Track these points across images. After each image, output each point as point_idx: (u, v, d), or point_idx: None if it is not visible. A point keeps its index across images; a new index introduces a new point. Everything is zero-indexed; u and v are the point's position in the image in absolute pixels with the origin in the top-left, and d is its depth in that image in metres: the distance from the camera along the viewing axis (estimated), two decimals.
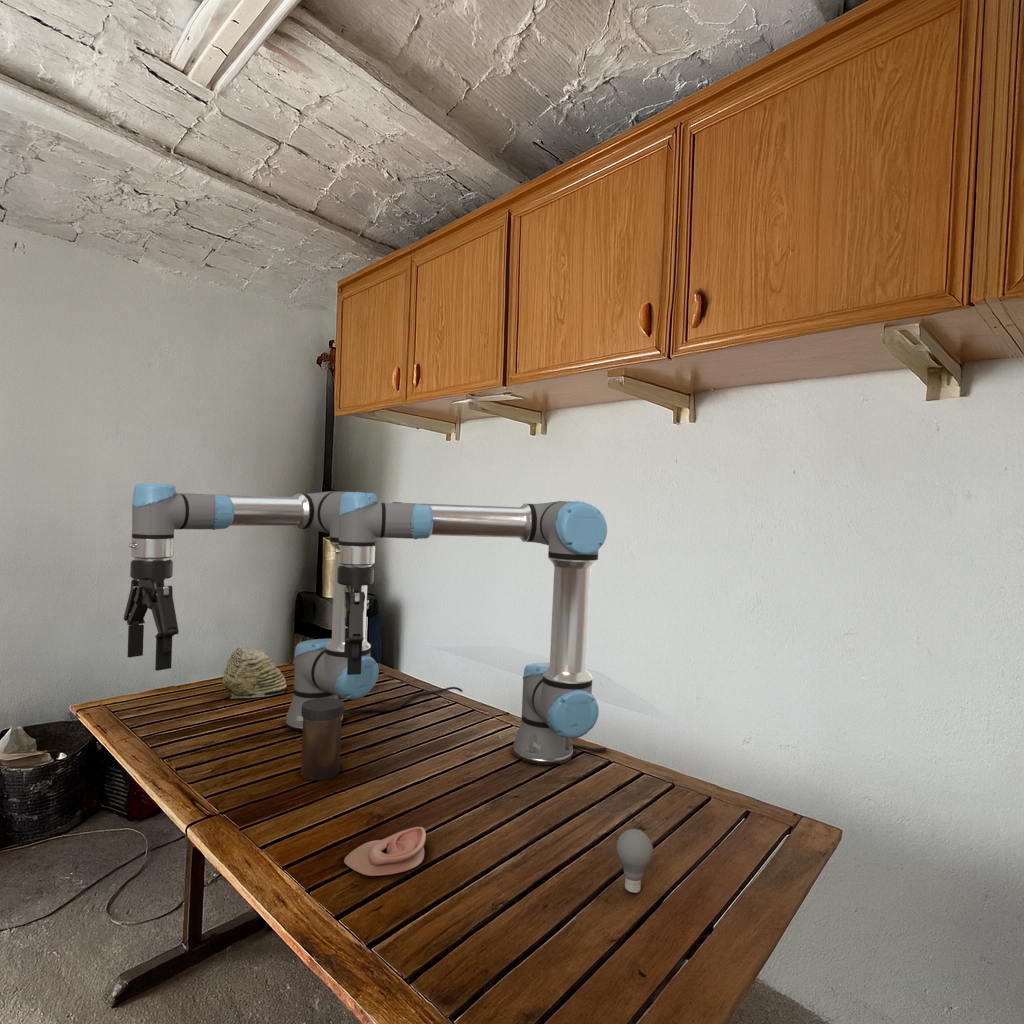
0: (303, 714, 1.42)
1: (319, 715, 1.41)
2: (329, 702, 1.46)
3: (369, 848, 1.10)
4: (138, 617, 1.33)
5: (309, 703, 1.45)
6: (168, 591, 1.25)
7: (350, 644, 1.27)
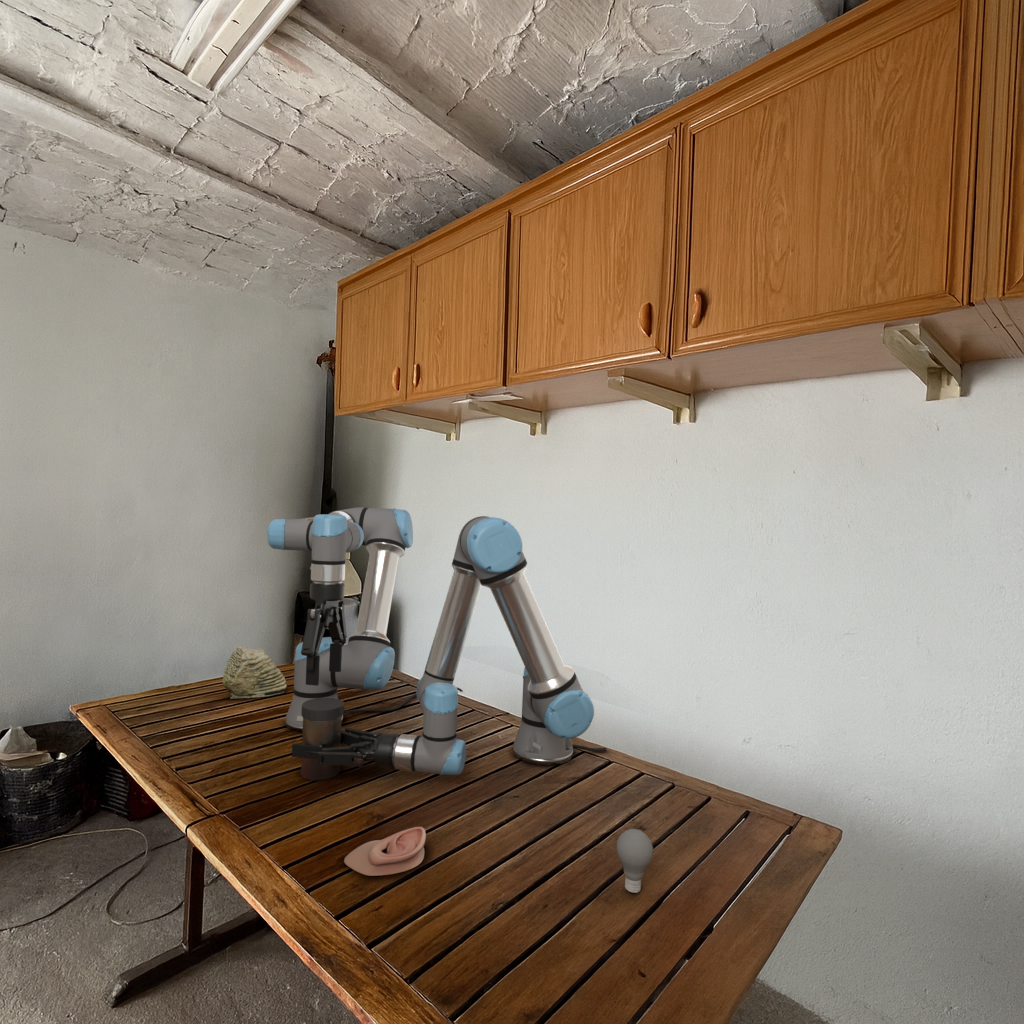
0: (303, 714, 1.42)
1: (319, 715, 1.41)
2: (329, 702, 1.46)
3: (369, 848, 1.10)
4: (335, 636, 1.50)
5: (309, 703, 1.45)
6: (314, 614, 1.38)
7: None
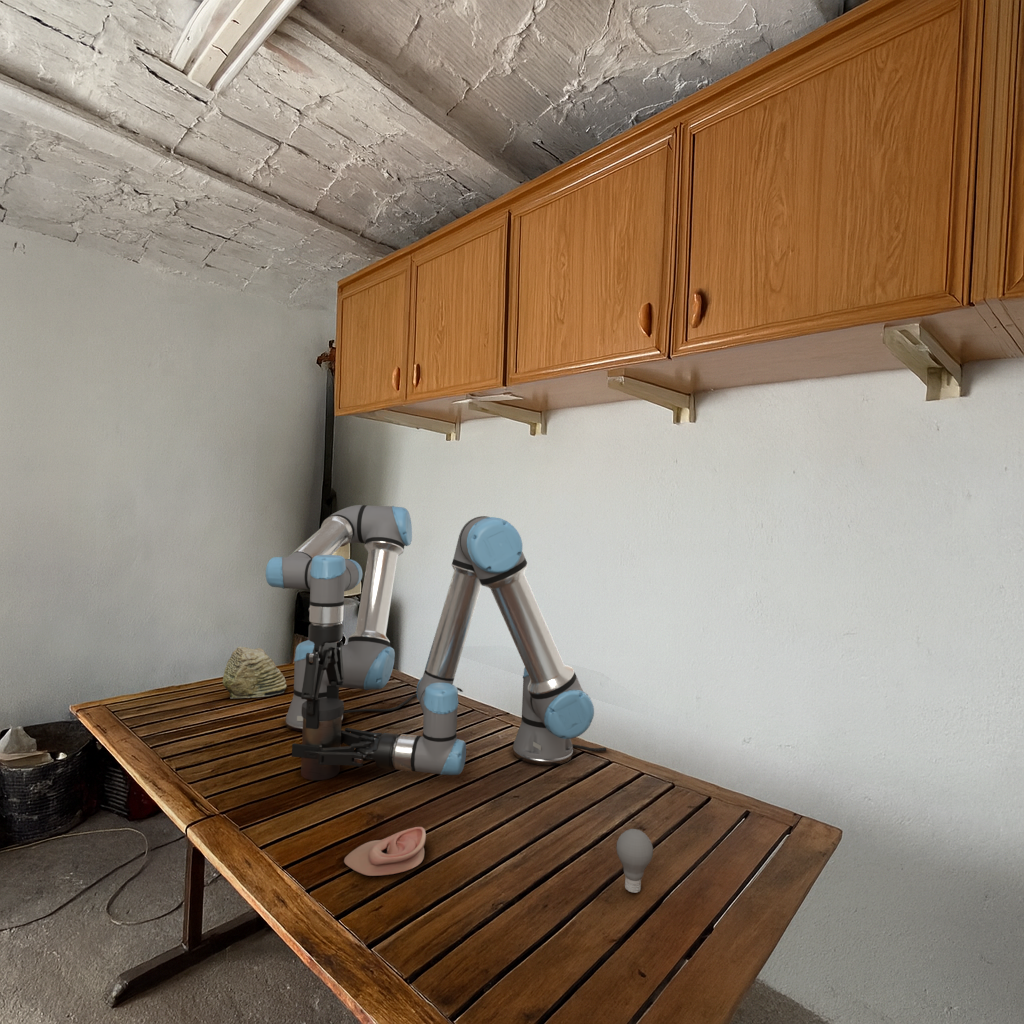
0: (303, 714, 1.42)
1: (319, 715, 1.41)
2: (329, 702, 1.46)
3: (369, 848, 1.10)
4: (332, 677, 1.49)
5: None
6: (312, 659, 1.38)
7: None
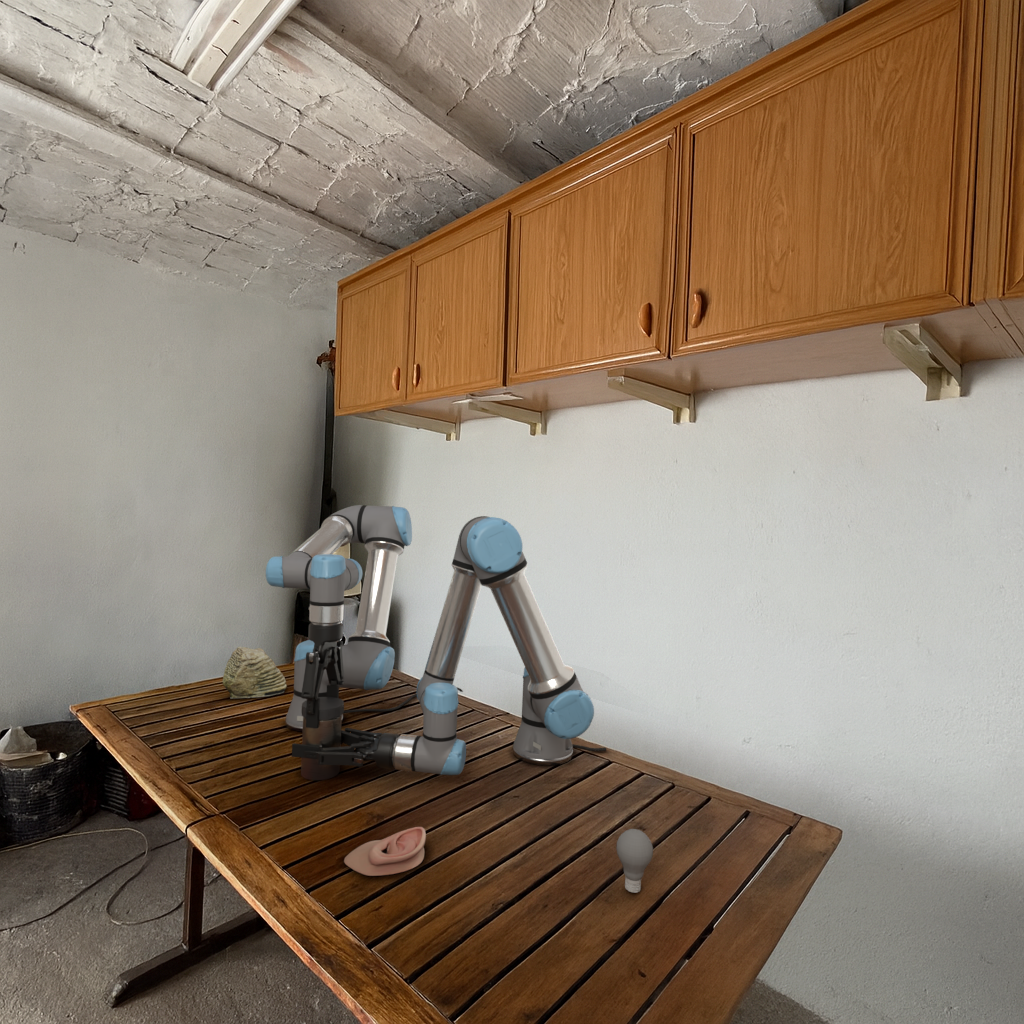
0: (319, 716, 1.41)
1: (337, 712, 1.43)
2: (324, 700, 1.47)
3: (369, 848, 1.10)
4: (332, 677, 1.49)
5: None
6: (312, 658, 1.38)
7: None
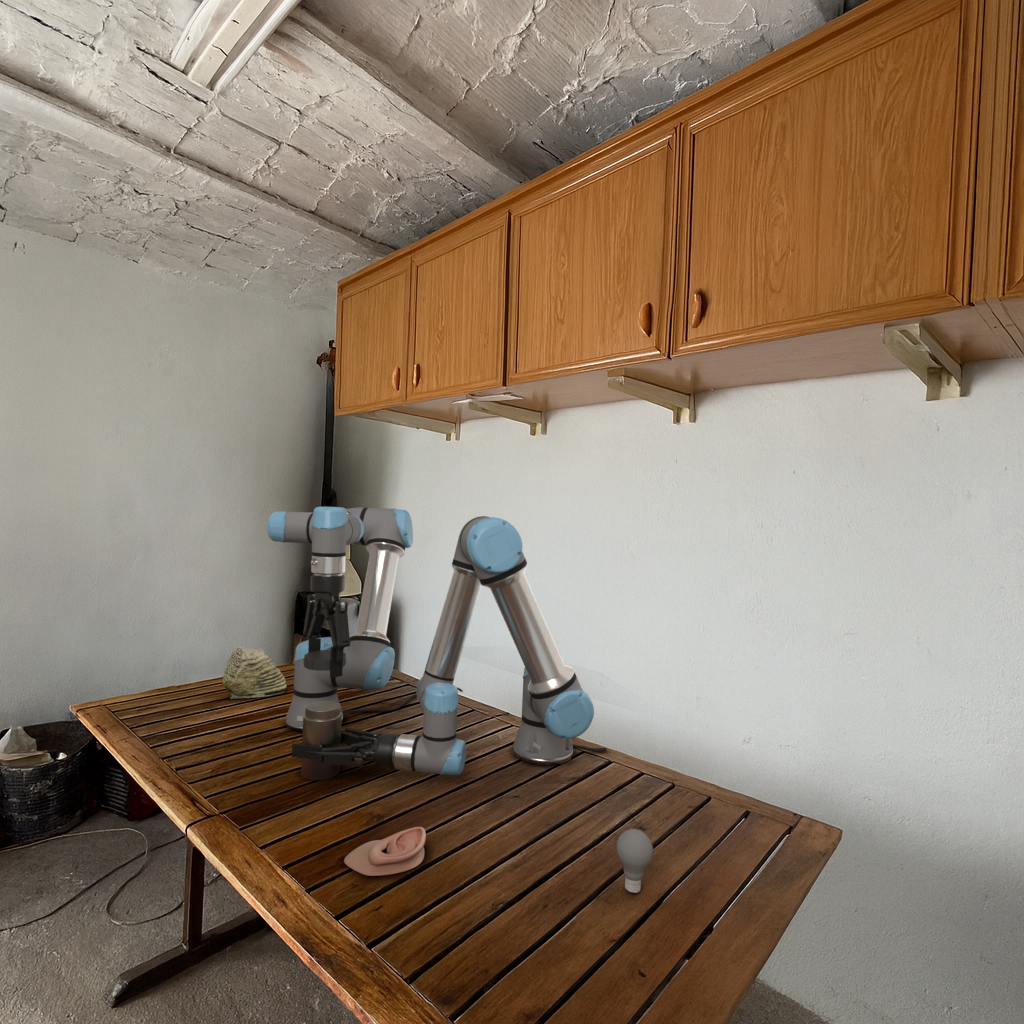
0: None
1: None
2: (319, 654, 1.46)
3: (369, 848, 1.10)
4: (316, 630, 1.48)
5: (327, 658, 1.42)
6: (344, 607, 1.41)
7: None
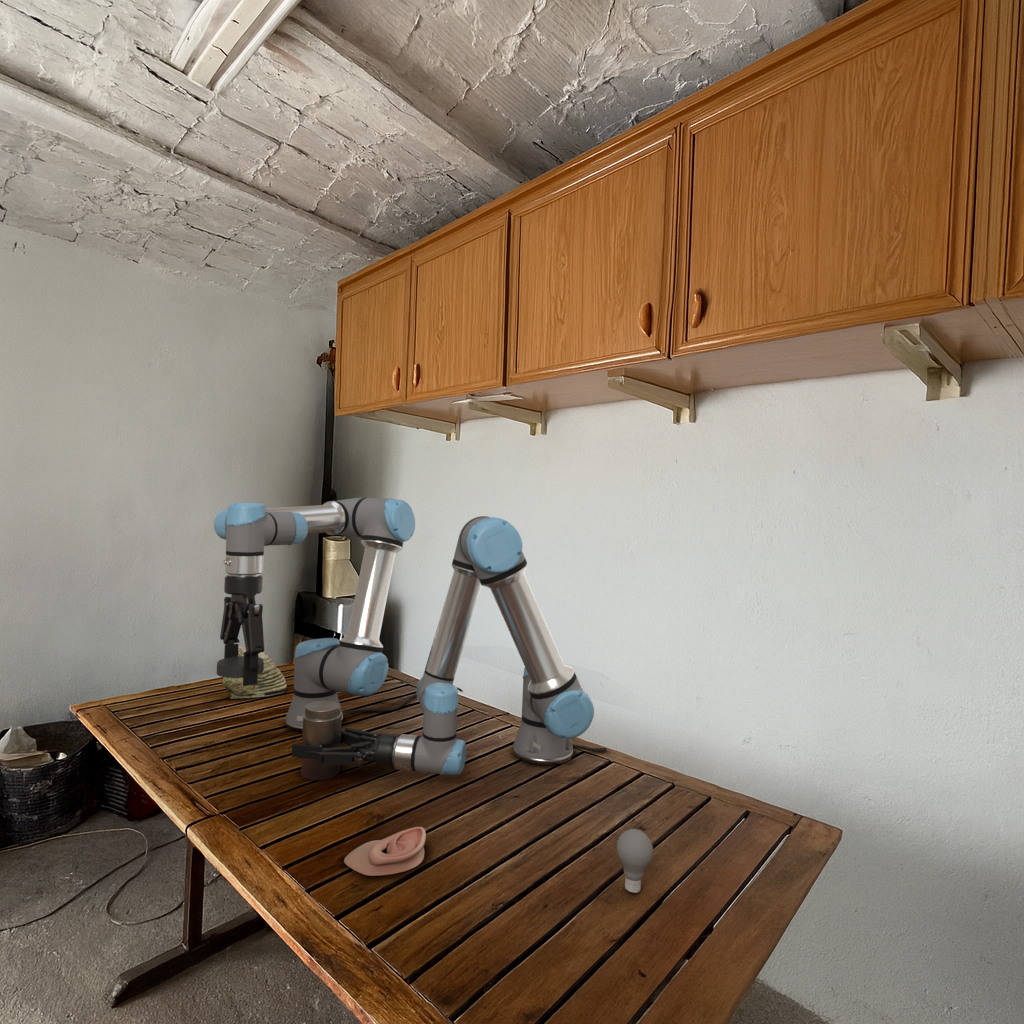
0: None
1: None
2: (235, 660, 1.36)
3: (369, 848, 1.10)
4: (233, 635, 1.39)
5: (241, 664, 1.33)
6: (259, 610, 1.31)
7: None
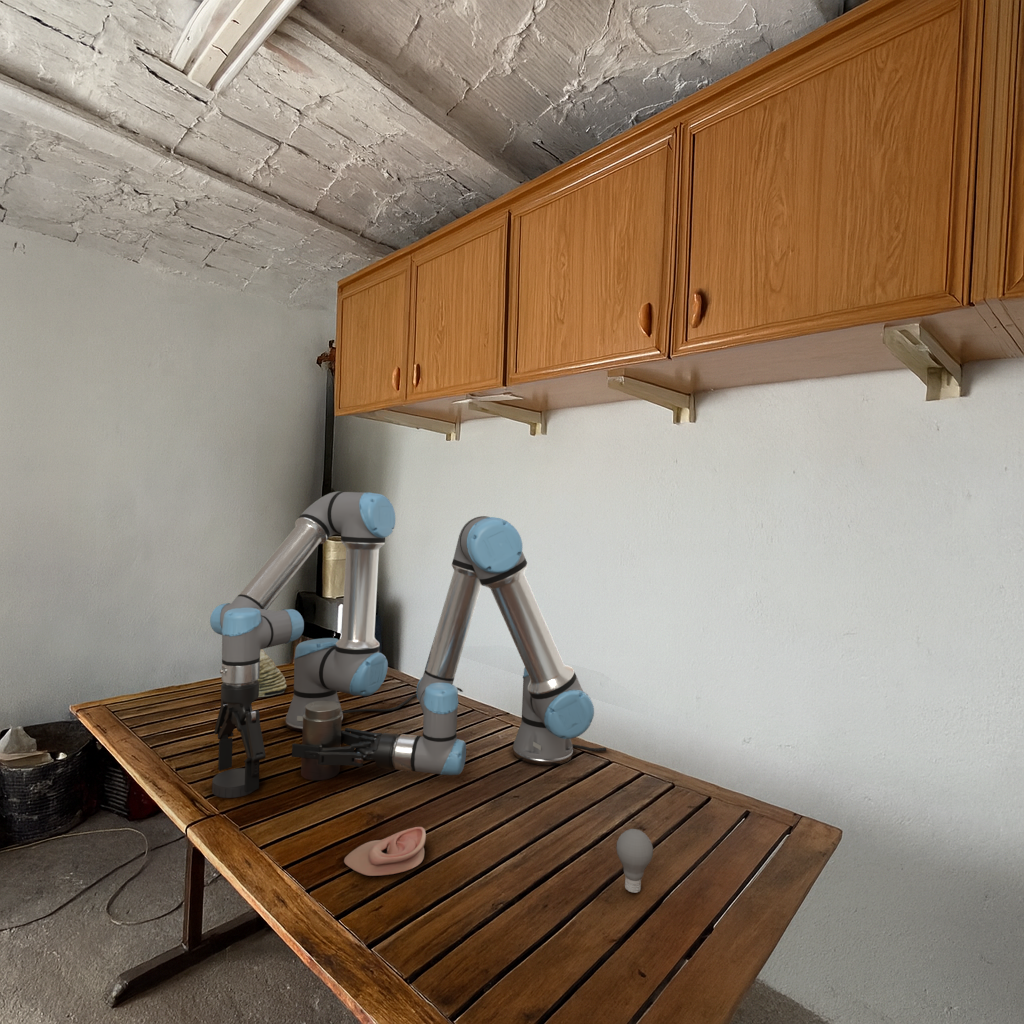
0: None
1: None
2: (230, 775, 1.37)
3: (369, 848, 1.10)
4: (227, 732, 1.40)
5: (236, 783, 1.33)
6: (255, 716, 1.32)
7: None
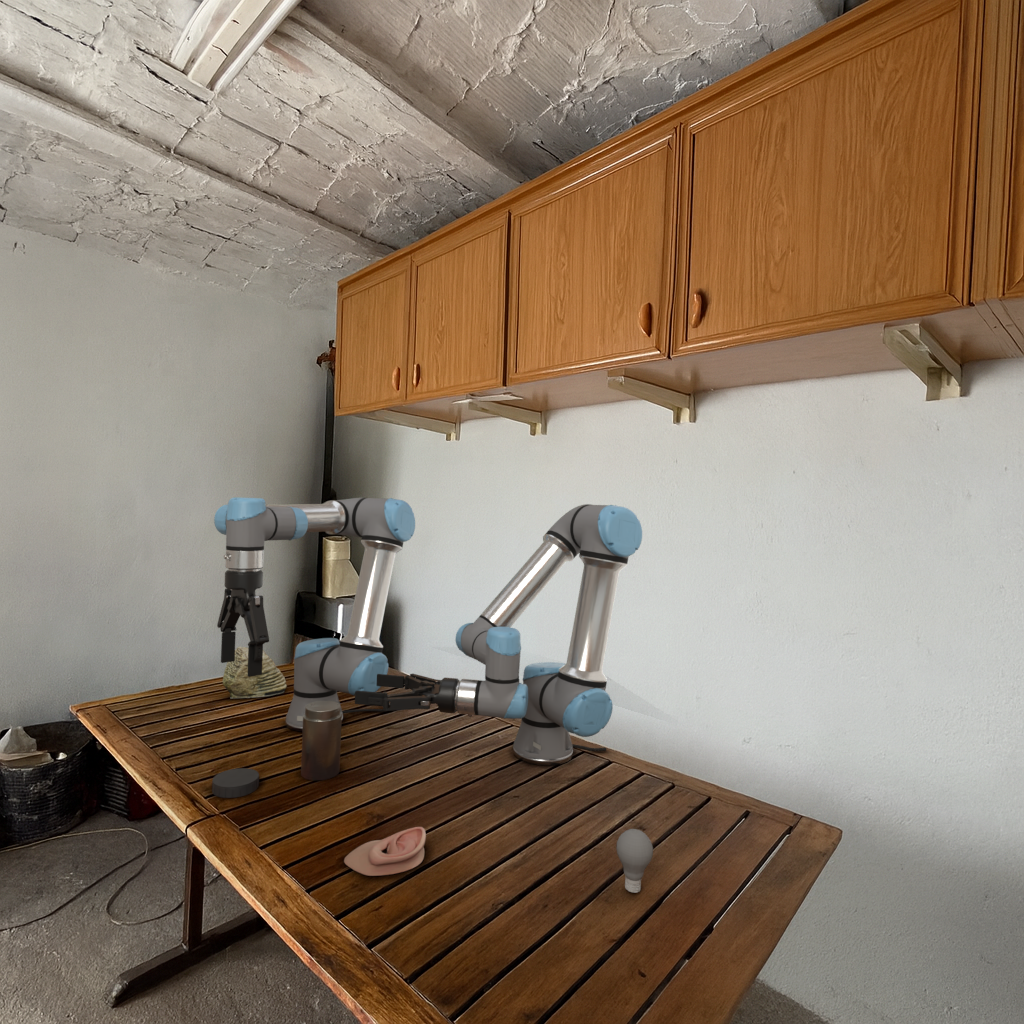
0: (250, 789, 1.34)
1: None
2: (230, 775, 1.37)
3: (369, 848, 1.10)
4: (230, 624, 1.40)
5: (236, 783, 1.33)
6: (259, 601, 1.31)
7: None
